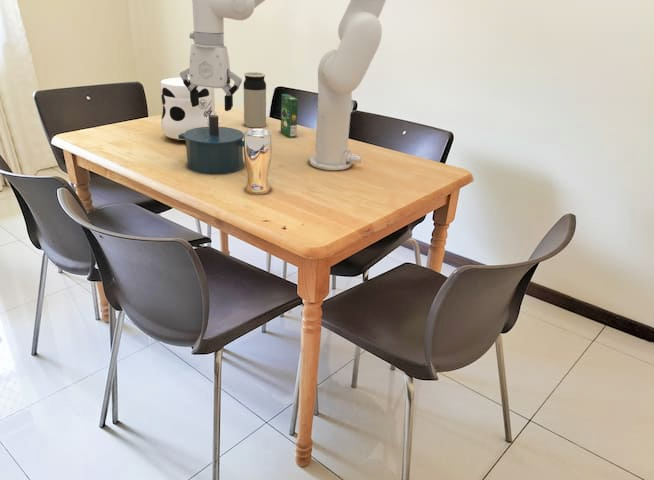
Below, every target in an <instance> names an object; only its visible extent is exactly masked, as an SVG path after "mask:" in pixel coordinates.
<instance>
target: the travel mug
mask: <svg viewBox="0 0 654 480" xmlns="http://www.w3.org/2000/svg"><path fill="white" fill-rule="evenodd" d="M243 75H244V81H243V125H244V126H246V127H248V128H251V129H261V128H264V127H265V126H266V125H267V83H266V81H265V77H266V73H264V72H257V71H247V72H244V73H243Z"/></svg>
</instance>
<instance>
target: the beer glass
mask: <svg viewBox="0 0 654 480" xmlns="http://www.w3.org/2000/svg"><path fill="white" fill-rule="evenodd" d="M243 133H244V138H243V141H244V147H243V157H244V161H245V162H244V163H245V167H246V172H247V181H246V188H245V189H246V192H247V193H250V194H254V195H263V194H267V193H269V192H270V190H271V187H270V181H269V180H270V179H269V177H270V176H269V175H270V168H271V163H272V156H273V154H272V153H273V141H272V131H271V130H269V129H265V128H249V129H245V130H244V132H243Z"/></svg>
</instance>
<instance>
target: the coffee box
mask: <svg viewBox="0 0 654 480" xmlns="http://www.w3.org/2000/svg"><path fill="white" fill-rule="evenodd" d="M280 103H281V104H280V109H281V110H280V132H281V133H282V134H284V135H286V136H287V137H288V138H296V137H297V129H298V128H297V127H298V126H297V125H298V108H299V107H298V106H299V99H298V98H296V97H295V96H293V95H292V94H289V93H282V94H281V101H280Z"/></svg>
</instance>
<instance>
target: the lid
mask: <svg viewBox="0 0 654 480" xmlns="http://www.w3.org/2000/svg"><path fill="white" fill-rule="evenodd" d="M184 138H185V139H187V140H189V141H191V142H195V143H201V144H228V143H233V142H237V141H240V140H242V141H243V140H244V132H243V131H242V130H239V129H237V128H233V127H228V126H227V127H226V126H220V125H219V116H218V115H217V114H216V115H209V127H199V128H194V129H191V130H188V131H186V132H185V133H184Z"/></svg>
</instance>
